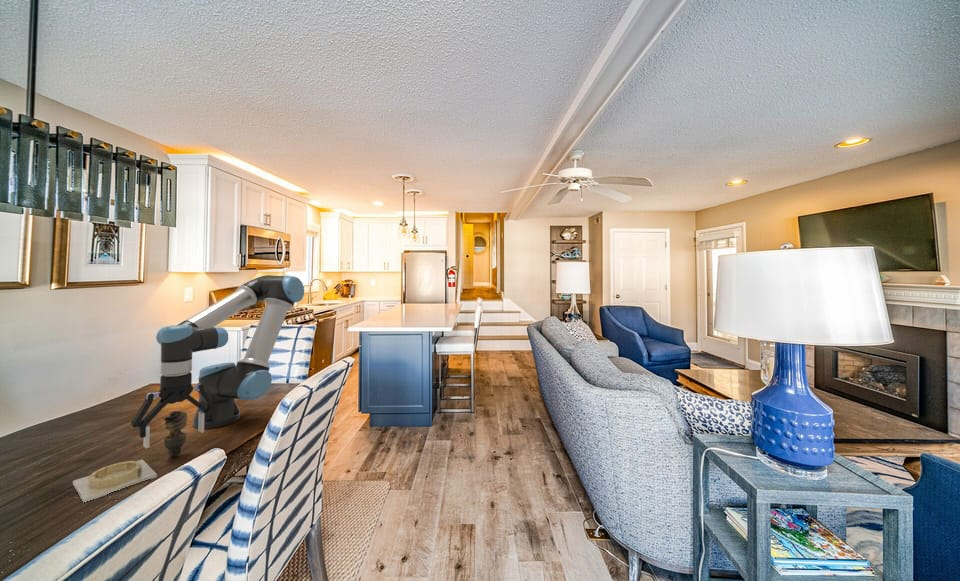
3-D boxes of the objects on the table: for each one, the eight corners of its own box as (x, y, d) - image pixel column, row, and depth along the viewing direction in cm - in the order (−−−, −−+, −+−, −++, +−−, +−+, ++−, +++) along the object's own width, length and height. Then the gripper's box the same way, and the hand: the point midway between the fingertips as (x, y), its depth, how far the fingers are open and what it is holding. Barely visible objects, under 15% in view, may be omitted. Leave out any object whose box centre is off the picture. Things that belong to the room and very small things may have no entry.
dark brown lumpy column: (170, 453, 111) (171, 408, 111) (190, 451, 113) (191, 407, 113) (160, 462, 106) (160, 415, 106) (181, 460, 108) (181, 413, 107)
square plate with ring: (142, 462, 106) (142, 453, 106) (156, 477, 98) (156, 467, 98) (72, 484, 94) (72, 473, 94) (83, 503, 86) (83, 491, 86)
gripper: (217, 364, 121) (216, 423, 122) (117, 379, 100) (116, 450, 101) (226, 368, 117) (225, 428, 118) (124, 384, 96) (123, 458, 97)
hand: (175, 438), depth 109 cm, fingers open, 13 cm apart
